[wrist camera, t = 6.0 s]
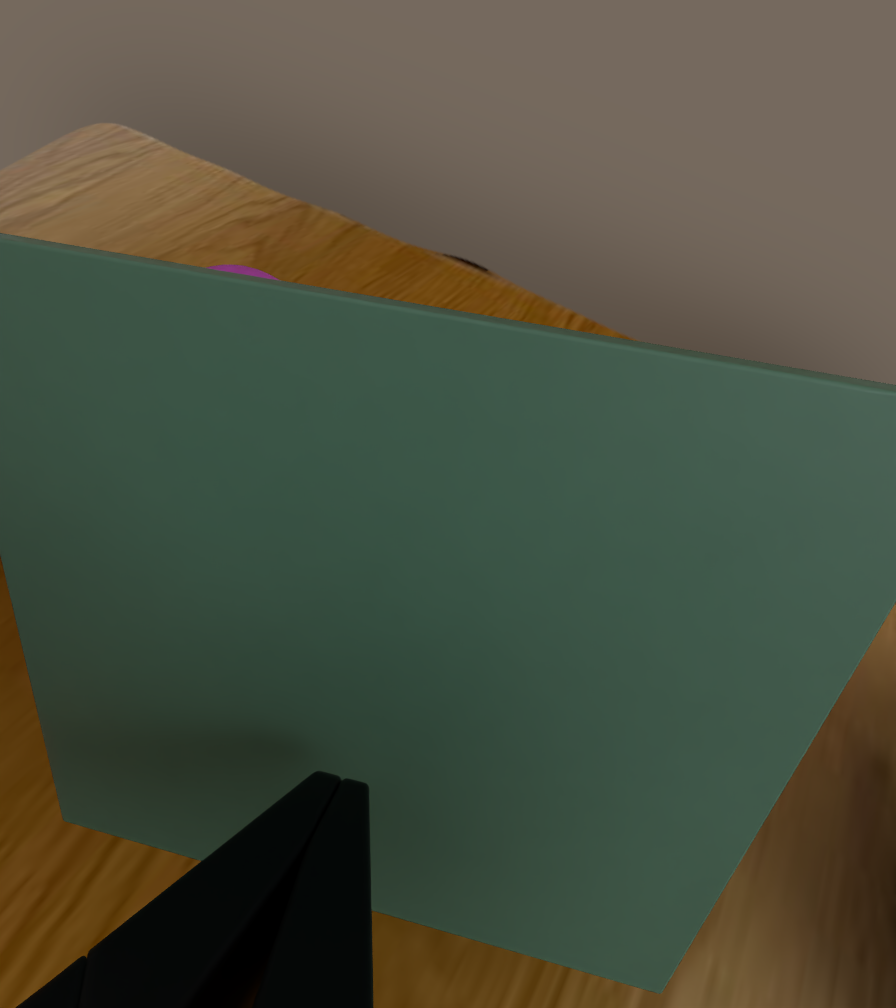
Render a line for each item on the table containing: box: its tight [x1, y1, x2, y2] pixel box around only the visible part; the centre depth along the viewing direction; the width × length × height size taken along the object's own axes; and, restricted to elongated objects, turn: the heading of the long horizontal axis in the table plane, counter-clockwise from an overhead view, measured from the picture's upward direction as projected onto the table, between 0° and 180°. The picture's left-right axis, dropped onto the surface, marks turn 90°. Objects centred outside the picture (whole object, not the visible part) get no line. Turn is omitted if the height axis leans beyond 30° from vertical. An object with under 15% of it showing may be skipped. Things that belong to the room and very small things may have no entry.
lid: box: [0, 233, 896, 994], centre depth 9 cm, size 11×13×1 cm
